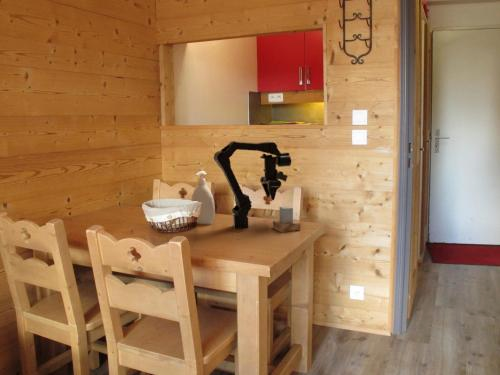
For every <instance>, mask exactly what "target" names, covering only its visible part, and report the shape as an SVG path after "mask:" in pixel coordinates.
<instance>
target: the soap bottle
mask: <svg viewBox="0 0 500 375" xmlns="http://www.w3.org/2000/svg"><path fill="white" fill-rule="evenodd" d="M205 175H207V172H206V171H204V170H200V171H198V172H197V173H194V176H200V178H198V180H197V181H198V183H197V186H196V187H195V189H194V191H193V193H192V195H191V201H198V202H202V205H201V213H200V216H199V217H198V219H197V223H196V224H199V225H211V224H212V223H213V222H214V219H215V216H216V215H215V214H216V211H215V210H216V207H215V201H214V200H215V199H214V196H213V194H212V192H211V190H210V188H209V187H208V186H207V184H206V178H204V176H205Z"/></svg>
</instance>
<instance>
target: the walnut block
mask: <svg viewBox="0 0 500 375" xmlns="http://www.w3.org/2000/svg"><path fill="white" fill-rule="evenodd" d="M272 228H273V229H274V230H276V231H278V232H280V233H287V232H286V231H289V232H296V231H295V230H300V231H301V222H299V221H296V220H295V219H293V223H281V222H280V219H277V220H276V219H275V220H272Z"/></svg>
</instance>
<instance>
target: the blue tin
mask: <svg viewBox="0 0 500 375" xmlns="http://www.w3.org/2000/svg"><path fill="white" fill-rule="evenodd" d="M279 220H280V222H281V223H293V220H294V208H293V207H291V206H290V205H289V206H279Z"/></svg>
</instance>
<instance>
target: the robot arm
mask: <svg viewBox="0 0 500 375" xmlns="http://www.w3.org/2000/svg"><path fill="white" fill-rule="evenodd" d="M237 150H239V151H240V150H241V151H255V152H256V151H257V152H261V153H262V155H260V157H259V159H263V160H264V165H263V166H264V167H263V168H264V169H262V170H263V172H264V176H261V177H260V179H259V182H260V185H261V186H262V188H263V190H264V194H265V196H266V197H267V198H270V199H271V201H274V200H275V198H276V195H277V192H278V190H279V188H281V187H282V181H283V182H287V181H288V180H287V179H288V176H289V175H287V174H284V172H283V171H281V170H279V171H278V169H277V167H280V168H281V167H282V168H284V167H290V166H291V164H292V158H291V156H290V153H289V152H284V153H281V151H280V150H279V149H278V145H277V144H276V142H273V141H264V142H263V141H262V142H257V143H256V142H242V141H234V140H233V141H232V140H231V141H230V142H229V143H228V144H227V145H226V146H225V147H223V148H221V149H220V150H218V151H216V152H215V153H214V155H213V160H214V162H215V163H216V165H217V166H218V167H219V168H220V170H221V171H222V172H223V174H224V176H225V179H226V180H227V183H228V185H229V187H230V189H231V191H232V193H233V196H234V202H235V206H234V207H233V208H232V209H231V212H232V214H233V225H232V227H233V228H234V229H246V228H249V217H248V215H249V213H250V211H251V209H252V206H253V205H252V201H251V198H250V196H249V195H248V194H245V193H243V190H242V189H241V188H242V187H241V186H240V184H239V182H238V180H237V178H236V176H235V173H234V171H233V170H232V166H231V159H230V158H231V157H232V156H233V155H234V153H235V152H236V151H237Z"/></svg>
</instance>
